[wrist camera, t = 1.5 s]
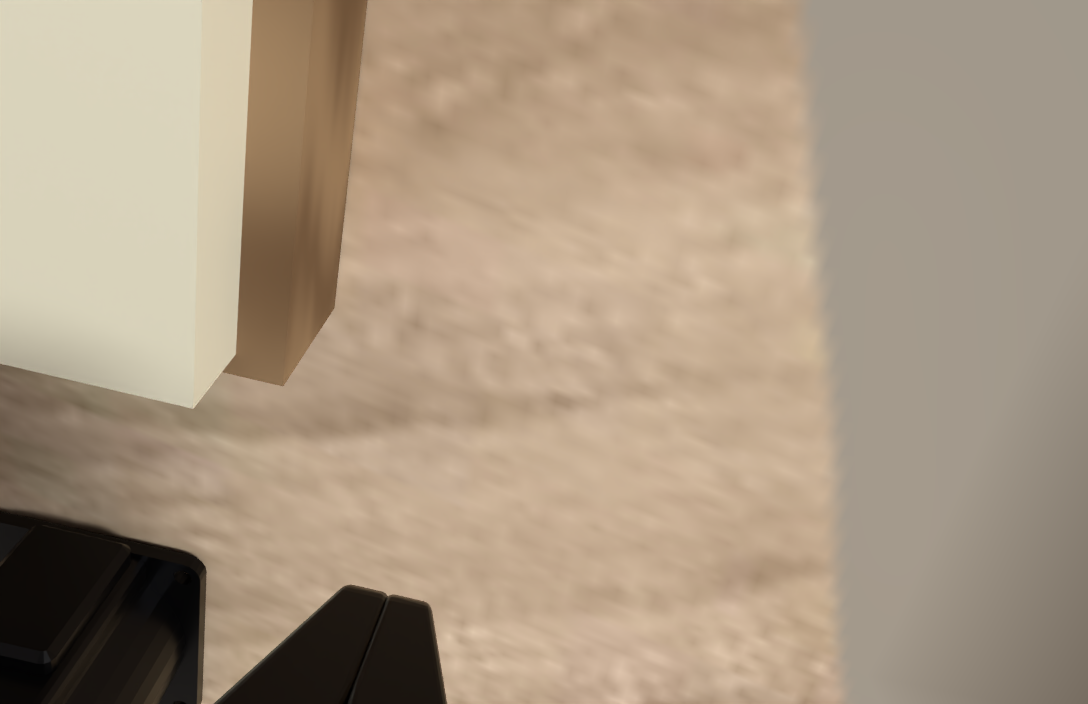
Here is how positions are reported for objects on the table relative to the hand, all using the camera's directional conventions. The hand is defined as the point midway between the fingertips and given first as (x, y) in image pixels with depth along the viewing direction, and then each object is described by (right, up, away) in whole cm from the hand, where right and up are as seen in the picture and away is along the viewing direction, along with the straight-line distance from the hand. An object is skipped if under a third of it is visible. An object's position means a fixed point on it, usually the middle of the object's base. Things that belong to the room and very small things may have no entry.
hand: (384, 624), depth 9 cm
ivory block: (-7, +7, +8) cm, 12 cm away
